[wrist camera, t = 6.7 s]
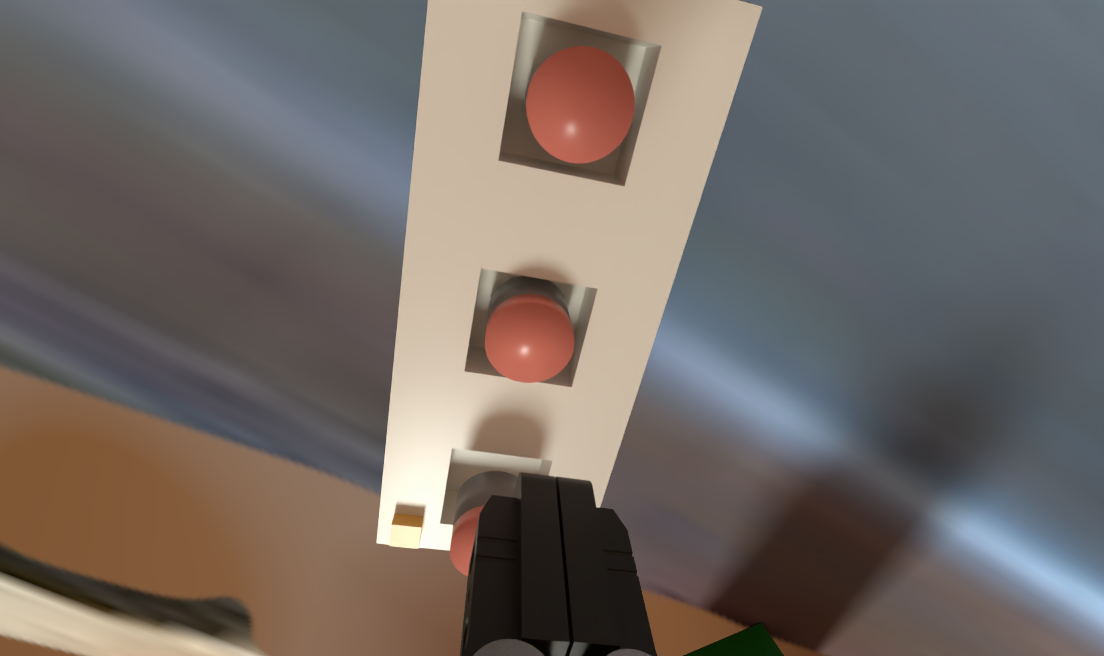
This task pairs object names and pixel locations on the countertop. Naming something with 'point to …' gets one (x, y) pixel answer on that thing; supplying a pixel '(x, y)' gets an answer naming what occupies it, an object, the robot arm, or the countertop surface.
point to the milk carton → (742, 644)
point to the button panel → (542, 239)
